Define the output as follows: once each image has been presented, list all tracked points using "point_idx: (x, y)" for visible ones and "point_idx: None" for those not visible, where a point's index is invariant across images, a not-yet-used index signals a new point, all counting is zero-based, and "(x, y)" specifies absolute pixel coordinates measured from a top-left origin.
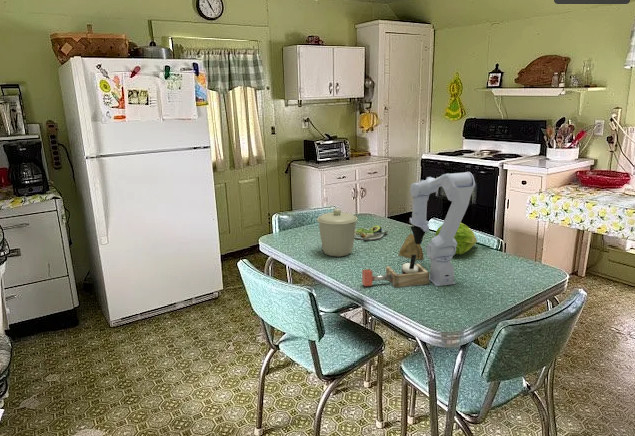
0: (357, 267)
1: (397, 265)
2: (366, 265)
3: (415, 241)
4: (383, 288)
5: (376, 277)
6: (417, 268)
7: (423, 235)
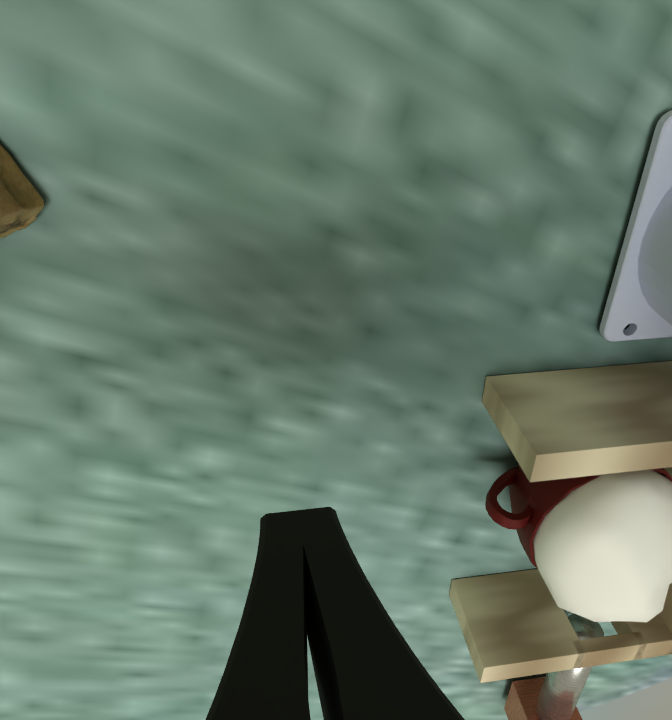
0: (201, 711)
1: (206, 483)
2: (166, 670)
3: (309, 634)
4: (607, 622)
5: (575, 704)
6: (670, 499)
7: (435, 690)
